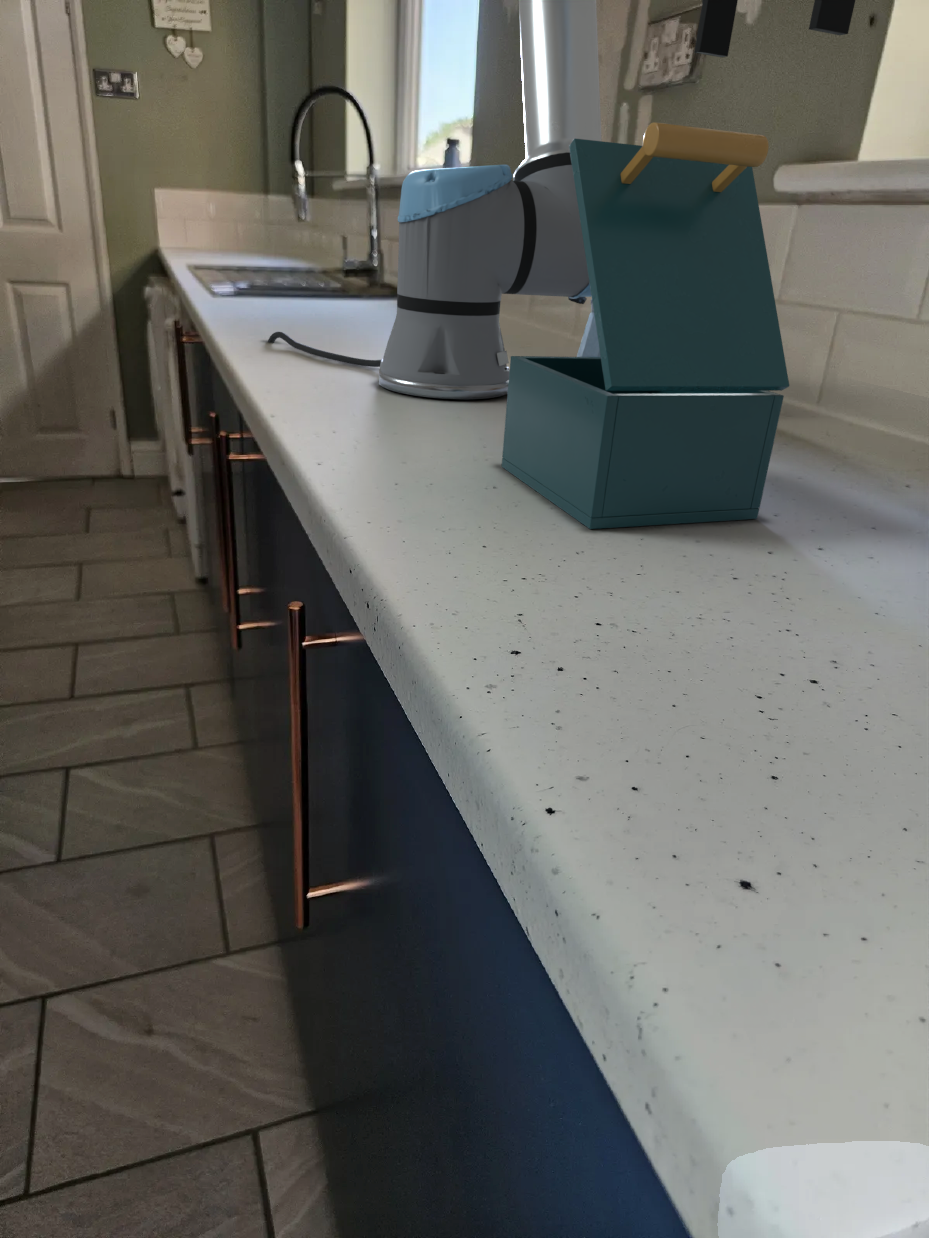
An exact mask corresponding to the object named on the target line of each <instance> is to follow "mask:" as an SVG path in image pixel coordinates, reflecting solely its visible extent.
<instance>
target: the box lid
mask: <svg viewBox="0 0 929 1238" xmlns="http://www.w3.org/2000/svg"><path fill="white" fill-rule="evenodd" d="M643 134H644V135H643V139H642V145H638V144H632V143H631V144H629V143H619V142H611V141H603V140H602V141H594V140H584V139H574V140H573V141H572V143H571V144H570V146H569V149H570V156H571V163H572V169H573V176H574V183H575V189H576V196H577V203H578V209H579V216H580V223H581V229H582V236H583V243H584V249H585V256H586V263H587V269H588V276H589V283H590V289H591V296H592V297H591V299H592V303H593V309H594V316H595V323H596V329H597V336H598V343H599V349H600V356H601V363H602V370H603V376H604V383H605V390H606V391H771V392H774V391H777V392H778V391H779V392H780V391H784V390H785V389H787V388H790V381H789V377H788V374H789V373H788V369H787V364H786V358H785V357H786V356H785V351H784V346H783V340H782V333H781V328H780V323H779V322H780V321H779V316H778V309H777V304H776V298H775V293H774V286H773V281H772V276H771V275H772V274H771V269H770V262H769V258H768V251H767V246H766V240H765V234H764V228H763V222H762V217H761V210H760V204H759V199H758V193H757V188H756V182H755V175H754V170H753V168H758V167H760V166H761V165H763V164H764V162H765V161H766V159H767V156H768V153H769V146H770V145H769V140H768V138H767V136H766V135H763V134H758V133H757V134H755V133H748V132H740V131H731V130H723V129H714V128H708V127H707V128H706V127H700V126H699V127H697V126H689V125H681V124H672V123H664V122H656V121H653V122H651V123H650V124H648V126H647V127H646V129H645V132H644V133H643Z"/></svg>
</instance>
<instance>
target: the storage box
mask: <svg viewBox="0 0 929 1238" xmlns="http://www.w3.org/2000/svg"><path fill="white" fill-rule="evenodd" d="M509 360H510V361H509V370H510V372H509V383H508V393H507V394H506V395H507V397H506V407H505V409H506V410H505V421H504V432H503V433H504V434H503V442H502V443H503V444H502V458H501V468H502V469H505V470H506V471H507V472H509V473H510V474H511V475H512V476H514V477H516V478H517V479H518V480H520V481H521V482H522V483H524V484H525V485H527V486H528V487H530V488H531V489H532V490H534V491H535V492H537V493H538V494H540V495H541V496H542V497H544V498H545V499H546V500H548V501H549V502H551V503H552V504H554V505H555V506H557V507H558V508H560V509H561V510H562V511H563V512H565V513H566V514H568V515H569V516H571V517H572V518H574V519H575V520H576V521H577V522H579V523H580V524H582V525H583V526H584V527H586V528H588V529H589V530H598V529H613V528H615V529H616V528H632V527H647V526H648V527H649V526H661V525H662V526H663V525H664V526H665V525H678V524H679V525H680V524H694V523H695V524H696V523H697V524H698V523H711V522H713V523H714V522H728V521H729V522H730V521H739V520H740V521H743V520H757V519H758V516H759V511H760V509H761V504H762V499H763V494H764V491H765V484H766V480H767V475H768V472H769V471H768V470H769V466H770V462H771V458H772V452H773V447H774V444H775V439H776V434H777V429H778V425H779V421H780V415H781V411H782V406H783V401H784V395H783V394H781V393H777V392H774V391H606V390H605V383H604V376H603V370H602V363H601V357H577V356H555V355H554V356H549V355H547V356H546V355H545V356H542V355H510V359H509Z"/></svg>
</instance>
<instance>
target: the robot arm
mask: <svg viewBox="0 0 929 1238" xmlns="http://www.w3.org/2000/svg"><path fill="white" fill-rule="evenodd" d="M738 1H739V0H701V3H702V4H701V10H700V16H699V22H698V27H697V35H696V40H695V45H694V54H699V55H705V56H712V57H717V58H727V57H728V56H729V51H730V46H731V45H730V44H731V40H732V34H733V29H734V23H735V18H736V12H737V7H738ZM855 4H856V0H814V2H813V7H812V12H811V17H810V21H809V25H808V30H810V31H814V32H820V33H826V34H831V35H835V36H845V35H848V34H849V31H850V26H851V21H852V17H853V12H854V9H855V8H854V7H855ZM518 15H519V17H518V19H519V36H520V37H519V38H520V39H519V40H520V41H519V42H520V58H521V59H520V60H521V81H522V83H521V84H522V103H523V124H524V125H523V126H524V143H525V144H524V145H525V147H524V148H525V149H524V150H525V159H524V160H522V162H521V163H520V165H518V167H516V169H515V170H514V173H512V170H511V167H510V166H509V164H491V165H475V166H474V165H473V166H461V167H446V168H445V167H444V168H431V169H419V170H414V171H411V172H409V174H407V175H406V176H405V178H404V179H403V181H402V183H401V190H400V191H401V192H400V201H399V209H398V215H397V222H398V252H397V253H398V255H397V256H398V258H397V287H396V288H397V290H396V291H397V293H396V294H397V295H396V315H395V319H394V322H393V326H392V328H391V331H390V334H389V336H388V340H387V344H386V346H385V350H384V354H383V358H382V359H366V358H365V359H364V358H357V357H353V356H348V355H342V354H338V353H334V352H330V351H325V350H323V349H318V348H315V347H312V346H310V345H306V344H305V343H304V344H303V343H300V342H297V341H296V340H295V339H293V338H292V337H290V336H289V335H288V334H286V333H285V332H283V331H275V332H273V333H272V334H271V335H269V337H268V339H267V343H269V344H270V343H271V344H272V343H275V342H276V340H277V339H281V340H283V341H284V342H286V343H287V344H288V345H289V346H291V347H292V348H294V349H297V350H299V351H302V352H304V353H307V354H310V355H313V356H316V357H320V358H323V359H328V360H331V361H335V362H336V361H337V362H340V363H345V364H350V365H356V366H361V367H368V368H369V367H370V368H379V369H378V384H379V386H381V387H382V388H384V389H387V390H389V391H391V392H396V393H399V394H405V395H410V396H415V397H422V398H432V399H442V400H443V399H444V400H482V399H483V400H485V399H492V398H499V397H503V396H505V395H508V383H509V372H510V366H508V365H509V364H510V361H509V356H508V351H507V350H506V349H505V343H504V340H503V339H504V338H503V334H502V329H501V325H500V314H501V313H500V312H501V302H502V301H501V300H502V296H503V295H520V296H521V295H522V296H523V295H524V296H542V297H543V296H544V297H545V296H547V297H563V298H565V297H567V298H568V297H569V298H572V299H576V298H579V297H586V298H590V297H591V298H592V296H591V289H590V283H589V276H588V269H587V263H586V256H585V249H584V243H583V236H582V229H581V223H580V216H579V209H578V203H577V196H576V189H575V183H574V176H573V169H572V163H571V156H570V149H569V146H570V144H571V143H572V141H573V140H574V139H584V140H594V141H603V139H602V136H603V135H602V113H601V89H600V87H601V86H600V64H599V63H600V62H599V61H600V60H599V38H598V34H599V33H598V12H597V0H518Z"/></svg>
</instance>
